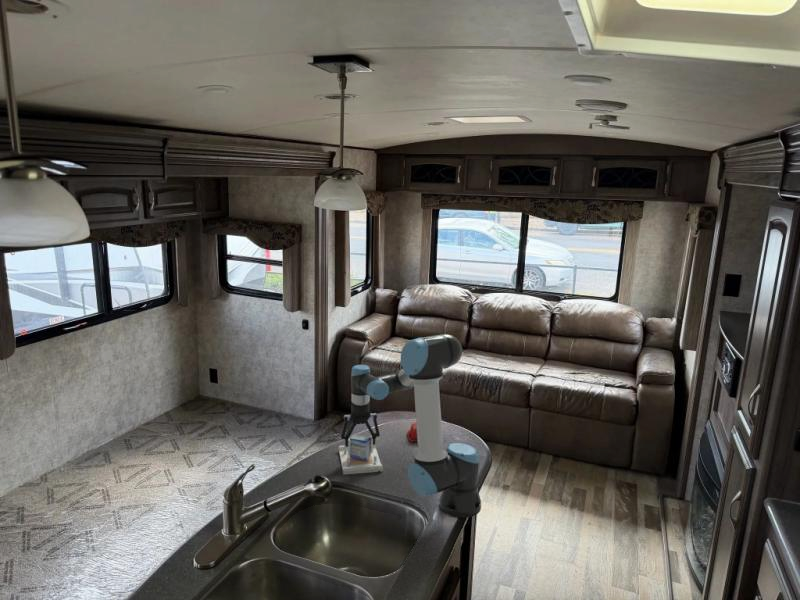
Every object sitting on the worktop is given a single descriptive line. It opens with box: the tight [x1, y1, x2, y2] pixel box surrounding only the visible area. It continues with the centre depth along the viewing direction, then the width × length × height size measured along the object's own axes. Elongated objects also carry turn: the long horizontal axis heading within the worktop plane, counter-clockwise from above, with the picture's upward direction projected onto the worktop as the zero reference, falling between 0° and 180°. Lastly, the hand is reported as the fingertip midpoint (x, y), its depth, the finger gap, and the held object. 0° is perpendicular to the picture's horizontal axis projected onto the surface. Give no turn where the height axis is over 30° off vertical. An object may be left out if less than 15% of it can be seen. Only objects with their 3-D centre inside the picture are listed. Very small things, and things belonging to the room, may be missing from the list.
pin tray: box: [338, 443, 384, 475], centre depth 233 cm, size 20×16×4 cm
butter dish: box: [406, 422, 418, 442], centre depth 256 cm, size 12×12×8 cm
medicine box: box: [349, 434, 371, 460], centre depth 232 cm, size 8×4×9 cm, turn 73°
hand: (360, 452), depth 233 cm, fingers closed on medicine box, 9 cm apart
